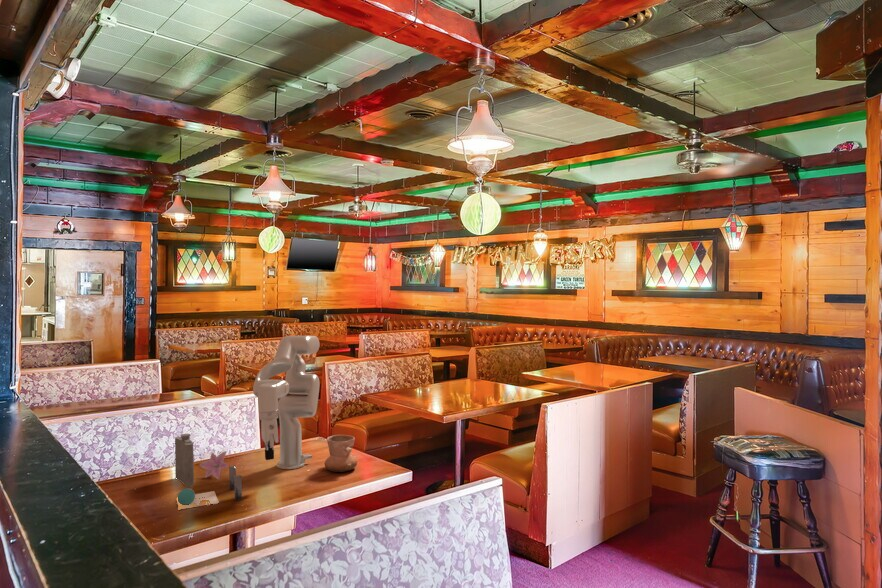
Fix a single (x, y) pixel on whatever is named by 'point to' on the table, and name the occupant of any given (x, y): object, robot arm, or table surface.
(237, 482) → the post
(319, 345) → the robot arm
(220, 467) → the lily
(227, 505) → the table surface
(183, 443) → the hip flask
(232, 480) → the post
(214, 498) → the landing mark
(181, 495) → the ball
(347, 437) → the ceramic jug
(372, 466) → the table surface
